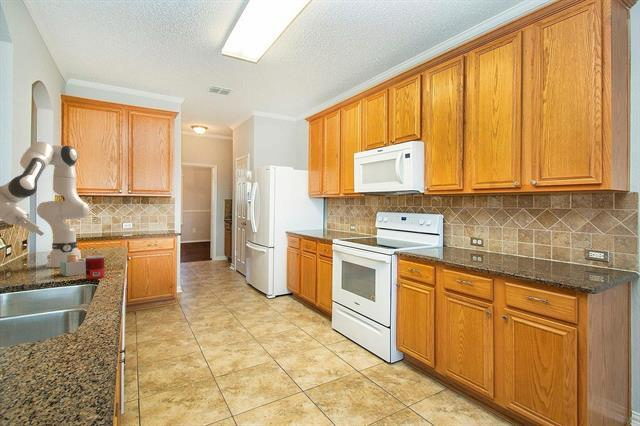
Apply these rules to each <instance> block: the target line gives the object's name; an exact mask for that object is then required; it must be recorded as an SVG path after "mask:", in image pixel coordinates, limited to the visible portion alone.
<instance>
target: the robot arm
mask: <svg viewBox="0 0 640 426" xmlns="http://www.w3.org/2000/svg"><path fill="white" fill-rule="evenodd" d="M78 157H79V154H78V152H77V150H76V149H75V147H74V146H71V145H51V144H50V143H48V142H45V141H36V142H33V143H32V145H31V146H29V147H28V148H27V149H26V151H24V152H23V155H22V157H21V158H20V161H19V164H20V166H21V167H22V168H23V169H24V170H23V172H22V174H21V175H17V176H16V177H14V178H13V179H11V180H10V181H8V182H7V183H6V184H4V185H0V220H2V221H3V222H5V223H6V224H8V225H10V226H12V225H15V226H20V227H22V228H24V229H26V230H28V231H29V232H30V233H36V235H39V236H41V237H42V236H43V235H44V234H45V233H44V232H43V231H42V230H40V229H39V228H40V227H39V226H38V225H37V224H36V223H34V222H33V221H31V220H30V219H28V217H29V216H28V214H27V213H28V212H27V211H26V210H25V209H24V208H22V206H21V207H20V206H19V205H18V203H19V202H21V201H24V200H25V199H27V198H28V197H31V196H33V195H35V193H36V192H37V190H38V189H37V188H38V181H39V178H40V177H41V175H42V173H43V171H44V170H45V169H46V168H47V167H48V165H50V166H53V167H54V169H53V176H52V182H53V183H52V190H53V192H54V193H55V194H57V195H59V196H60V197H61V196H62V197H63V198H64V200H61V201H60V200H58V201H57V200H50V201H42V202H40V203H39V204H38V206H37V208H36V214H37V215H38V216H39V218H41V219H42V220H44V221H45V222H46V223H48V225H49V227H50V228H51V232H52V241H53V242H52V243H51V244H52V245H51V247H52V248H51V249H52V251H50V252H49V254H48V255H47V256H46V258H47V260H48V261H47V262H46V264H45V266H44V267H45V269H46V268H60V260H67V256H68V254H78V259H82V256H81V250H80V249H78V241H77V230H76V228H75V227H74V226H72V225H70V224H68V223H66V222H65V221H66V220H80V219H85V218H87V217H88V216H89V214H90V212H91V209H90V205H89V204H88V203H87V202H86V201H84V200H83V199H81V197H80V196H79V195H78V190H77V171H76V167H75V166H76V165H75V164H76V162H77V161H78V159H79V158H78Z"/></svg>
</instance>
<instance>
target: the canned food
mask: <svg viewBox="0 0 640 426" xmlns="http://www.w3.org/2000/svg"><path fill="white" fill-rule="evenodd" d="M85 259H86V274H85V279H86V280H99V279H103V278H104V277H105V255H104V254H102V255H101V254H100V255H99V254H97V255H94V254H93V255H88V256H86V257H85Z"/></svg>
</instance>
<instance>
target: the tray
mask: <svg viewBox="0 0 640 426" xmlns="http://www.w3.org/2000/svg"><path fill="white" fill-rule="evenodd" d="M59 268H60V275H62V276H64V277H66V262H64V261H63V260H60V267H59Z"/></svg>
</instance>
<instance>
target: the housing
mask: <svg viewBox="0 0 640 426" xmlns="http://www.w3.org/2000/svg"><path fill="white" fill-rule="evenodd" d="M63 261H64V262H66V276H65V277H67V276H68V277H74V275H75V276H82V274H83V275H86V257H85V258H84V257H83V258H82V257H81V259H78V262H71V263H67V260H63Z"/></svg>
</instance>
